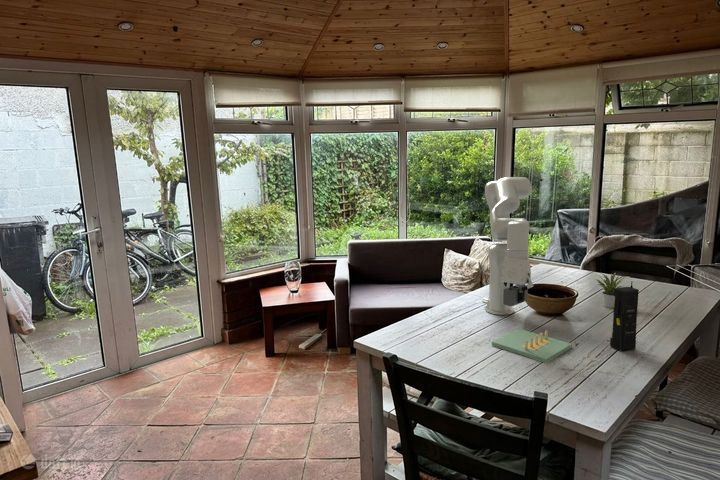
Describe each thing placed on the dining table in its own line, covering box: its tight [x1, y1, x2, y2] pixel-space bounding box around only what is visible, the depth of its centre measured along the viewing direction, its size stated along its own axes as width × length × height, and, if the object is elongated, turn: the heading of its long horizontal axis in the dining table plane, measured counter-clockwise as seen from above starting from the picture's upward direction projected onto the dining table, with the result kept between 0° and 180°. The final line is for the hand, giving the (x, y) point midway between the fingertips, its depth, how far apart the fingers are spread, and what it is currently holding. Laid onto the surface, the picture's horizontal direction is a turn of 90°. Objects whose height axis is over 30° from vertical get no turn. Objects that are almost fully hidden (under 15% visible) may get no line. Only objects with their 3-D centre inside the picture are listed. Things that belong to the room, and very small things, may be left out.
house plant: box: [594, 272, 631, 309], centre depth 222 cm, size 14×14×16 cm
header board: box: [491, 328, 573, 364], centre depth 180 cm, size 22×19×5 cm
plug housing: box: [503, 284, 529, 308], centre depth 182 cm, size 4×11×6 cm, turn 130°
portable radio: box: [609, 281, 640, 352], centre depth 175 cm, size 8×6×25 cm
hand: (515, 300), depth 183 cm, fingers closed on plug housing, 3 cm apart
